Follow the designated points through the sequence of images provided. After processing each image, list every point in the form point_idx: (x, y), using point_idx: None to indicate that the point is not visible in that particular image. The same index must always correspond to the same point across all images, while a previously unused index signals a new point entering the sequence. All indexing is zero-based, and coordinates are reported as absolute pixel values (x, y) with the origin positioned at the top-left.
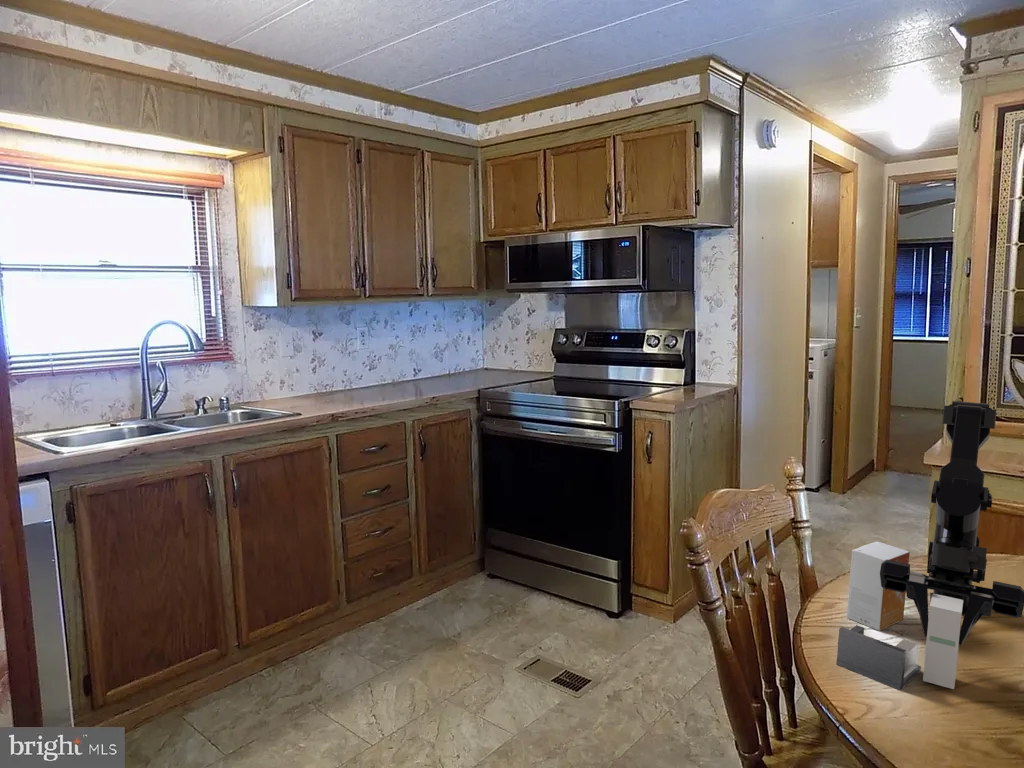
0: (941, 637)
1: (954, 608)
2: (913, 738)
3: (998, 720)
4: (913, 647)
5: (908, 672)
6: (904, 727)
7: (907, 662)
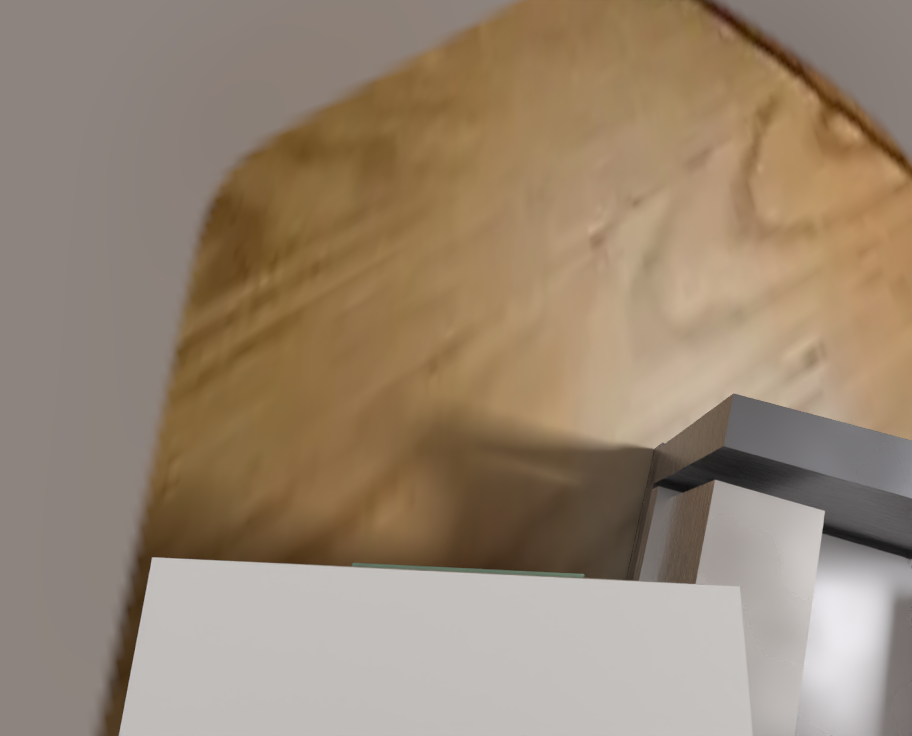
0: (478, 570)
1: (261, 730)
2: (550, 100)
3: (224, 423)
4: None
5: (647, 576)
6: (589, 151)
7: (676, 550)
